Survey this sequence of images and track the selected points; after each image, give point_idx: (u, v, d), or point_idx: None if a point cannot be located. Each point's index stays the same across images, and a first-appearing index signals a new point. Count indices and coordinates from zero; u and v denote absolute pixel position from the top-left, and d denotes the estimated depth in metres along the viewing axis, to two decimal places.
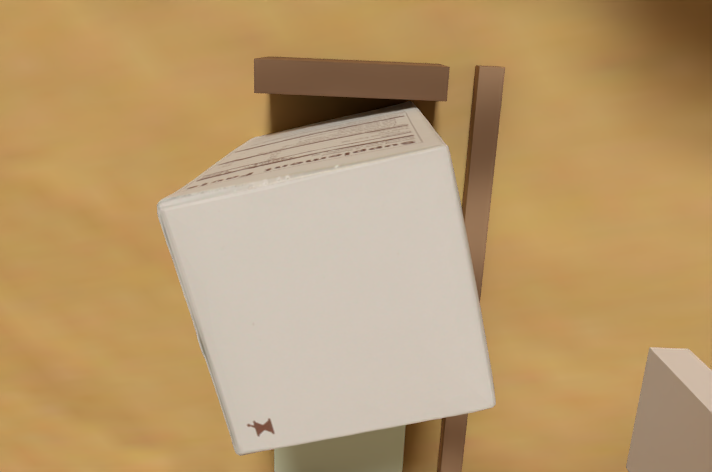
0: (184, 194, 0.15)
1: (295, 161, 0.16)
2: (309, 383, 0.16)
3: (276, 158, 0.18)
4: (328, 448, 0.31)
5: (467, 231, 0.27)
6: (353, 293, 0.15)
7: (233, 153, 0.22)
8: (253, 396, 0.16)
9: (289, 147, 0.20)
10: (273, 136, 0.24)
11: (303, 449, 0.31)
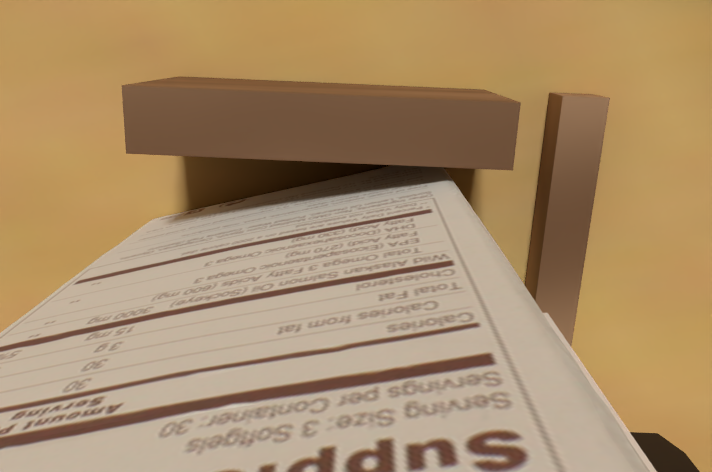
0: None
1: None
2: None
3: (85, 390, 0.06)
4: None
5: None
6: None
7: (68, 288, 0.10)
8: None
9: (161, 309, 0.08)
10: (177, 229, 0.13)
11: None
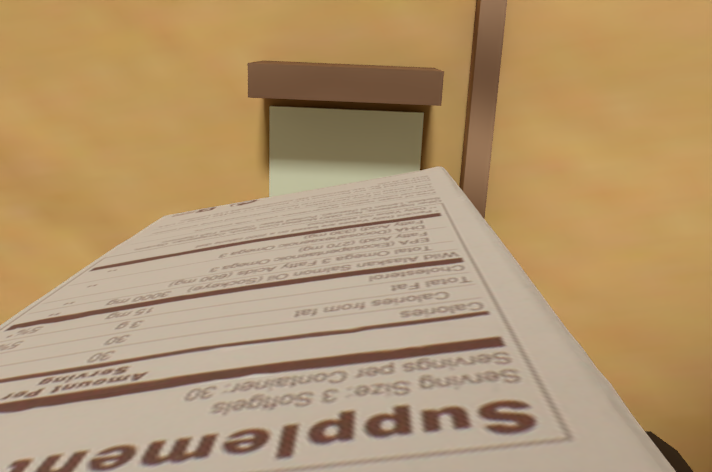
0: None
1: (122, 431, 0.05)
2: None
3: (109, 361, 0.06)
4: None
5: None
6: None
7: (84, 274, 0.10)
8: None
9: (179, 294, 0.08)
10: (189, 225, 0.13)
11: None
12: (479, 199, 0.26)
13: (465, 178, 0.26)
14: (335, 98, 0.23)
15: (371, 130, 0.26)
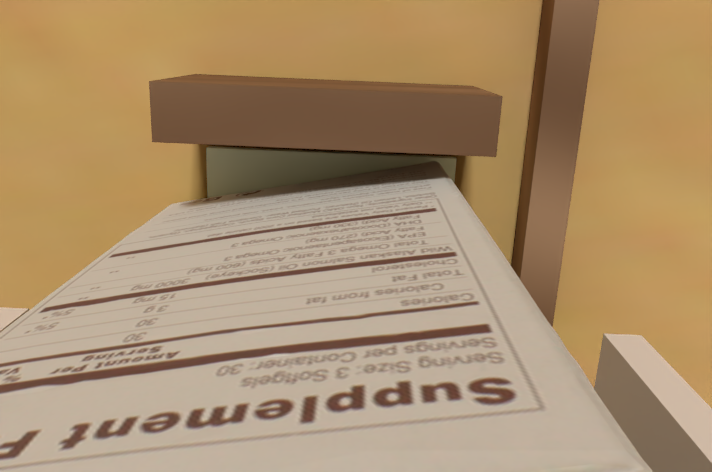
0: None
1: (165, 400, 0.06)
2: None
3: (143, 341, 0.07)
4: None
5: None
6: None
7: (104, 260, 0.11)
8: None
9: (197, 281, 0.09)
10: (198, 214, 0.14)
11: None
12: (545, 297, 0.16)
13: (524, 264, 0.16)
14: (307, 144, 0.13)
15: None
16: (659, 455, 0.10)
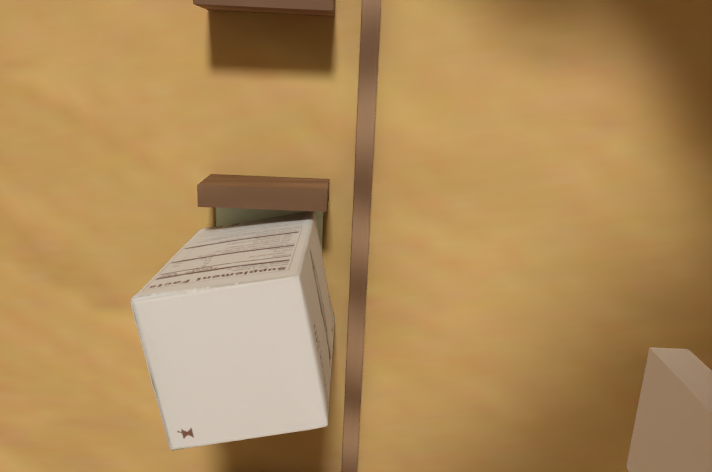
0: (147, 294, 0.26)
1: (216, 273, 0.27)
2: (216, 407, 0.27)
3: (207, 266, 0.28)
4: None
5: (359, 120, 0.35)
6: (243, 356, 0.26)
7: (183, 250, 0.33)
8: (181, 414, 0.27)
9: (218, 254, 0.30)
10: (214, 233, 0.35)
11: None
12: (362, 268, 0.38)
13: (352, 254, 0.37)
14: (256, 207, 0.34)
15: None
16: None
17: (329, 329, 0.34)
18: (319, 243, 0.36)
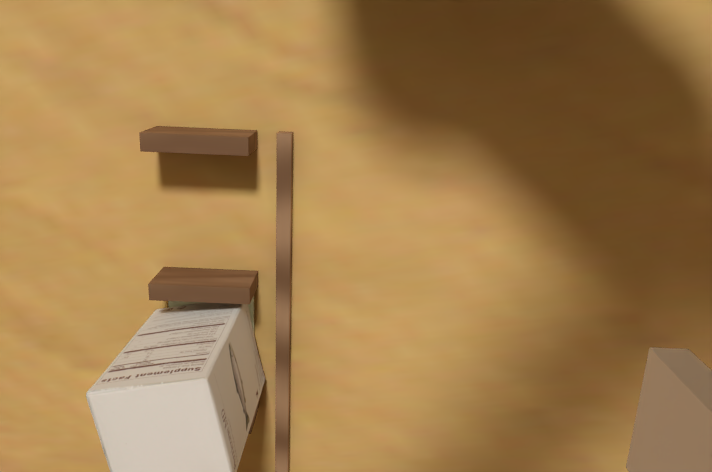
0: (98, 389, 0.35)
1: (150, 370, 0.37)
2: (150, 469, 0.36)
3: (147, 360, 0.38)
4: None
5: (278, 229, 0.44)
6: (169, 433, 0.36)
7: (136, 337, 0.42)
8: None
9: (159, 346, 0.40)
10: (163, 318, 0.45)
11: None
12: (285, 341, 0.47)
13: (276, 330, 0.47)
14: (194, 300, 0.43)
15: None
16: None
17: (251, 397, 0.43)
18: (248, 324, 0.46)
